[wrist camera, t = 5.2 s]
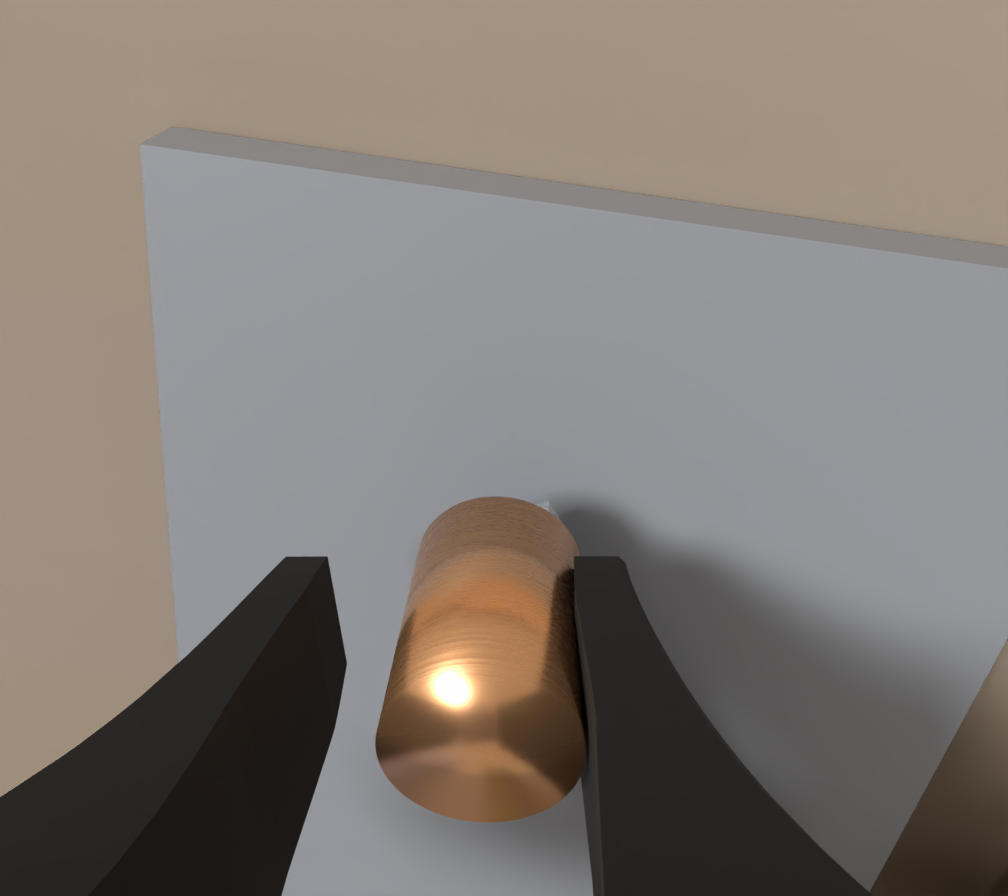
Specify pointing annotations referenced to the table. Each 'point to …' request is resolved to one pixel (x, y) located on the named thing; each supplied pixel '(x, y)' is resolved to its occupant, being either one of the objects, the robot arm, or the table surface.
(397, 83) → the table surface
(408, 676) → the lever
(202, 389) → the base
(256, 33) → the table surface
